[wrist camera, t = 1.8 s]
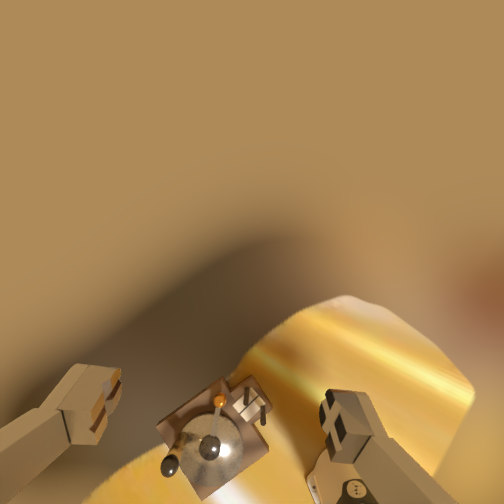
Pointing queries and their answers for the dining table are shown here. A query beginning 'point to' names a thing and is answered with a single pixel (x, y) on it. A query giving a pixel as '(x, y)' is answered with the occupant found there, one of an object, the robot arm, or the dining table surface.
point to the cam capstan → (206, 448)
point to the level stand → (236, 408)
